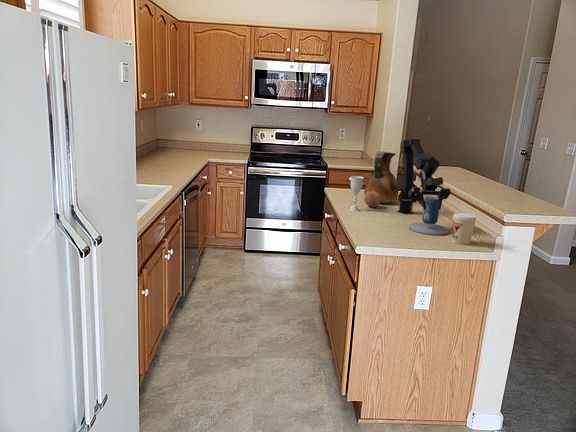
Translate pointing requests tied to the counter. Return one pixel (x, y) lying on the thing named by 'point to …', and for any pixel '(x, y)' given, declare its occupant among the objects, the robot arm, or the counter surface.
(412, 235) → the counter surface
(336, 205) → the counter surface
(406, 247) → the counter surface
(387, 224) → the counter surface
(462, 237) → the coffee cup
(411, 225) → the rubber mat
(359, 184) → the chalice
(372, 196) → the onion
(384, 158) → the ceramic pitcher
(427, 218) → the soda can
